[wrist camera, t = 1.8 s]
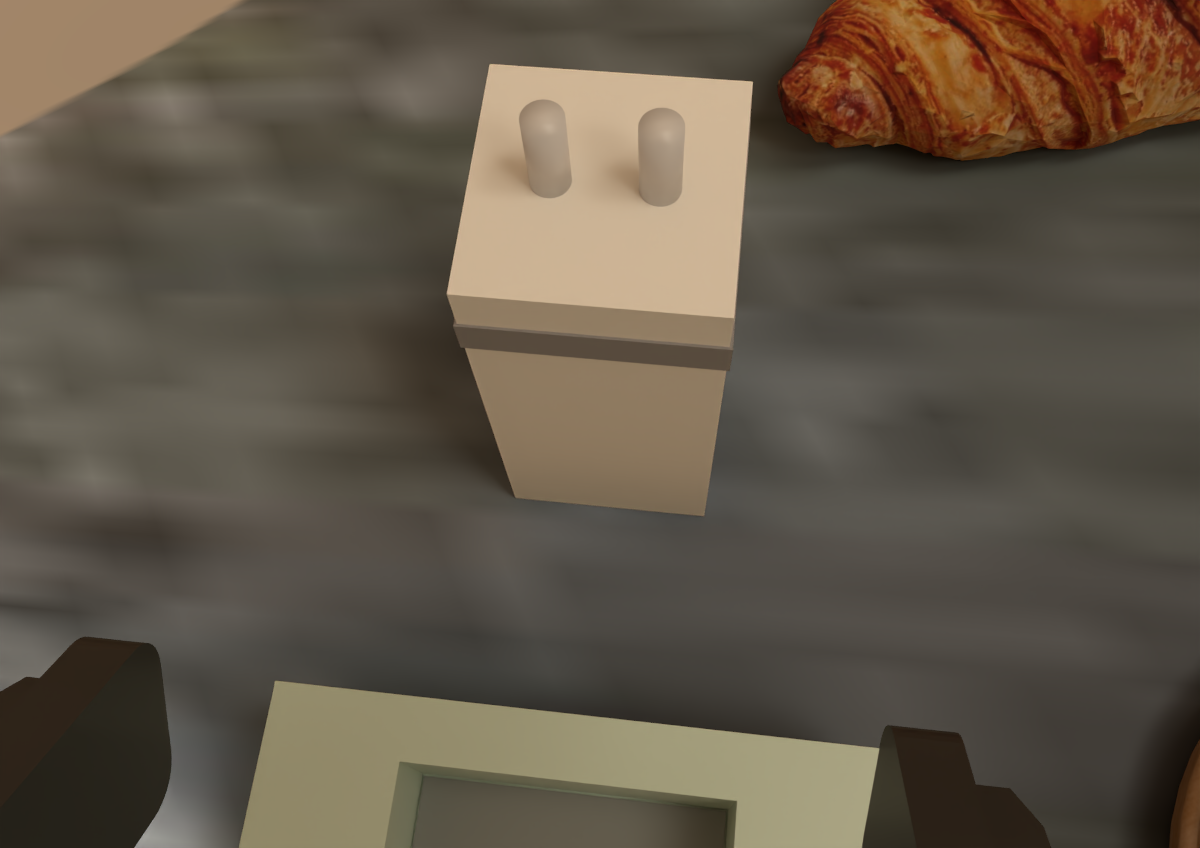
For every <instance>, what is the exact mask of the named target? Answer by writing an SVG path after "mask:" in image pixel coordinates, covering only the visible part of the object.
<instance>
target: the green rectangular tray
mask: <svg viewBox="0 0 1200 848" xmlns="http://www.w3.org/2000/svg"><path fill="white" fill-rule="evenodd" d="M878 754H879V748H871V747H862V746H853V745H844V744H835V743H826V742H817V741H808V740H799V739H790V738H782V737H773V736H764V735H755V734H746V733H737V732H728V731H719V730H710V729H701V728H692V727H683V726H675V725H666V724H657V723H648V722H639V721H630V720H621V719H612V718H603V717H594V716H585V715H576V714H568V713H559V712H550V711H541V710H532V709H523V708H514V707H505V706H496V705H487V704H478V703H469V702H461V701H452V700H443V699H434V698H425V697H416V696H407V695H398V694H389V693H380V692H371V691H362V690H354V689H345V688H336V687H327V686H318V685H309V684H300V683H291V682H282V681H275V685H274V690H273V694H272V699H271V703H270V708H269V712H268V717H267V721H266V726H265V731H264V735H263V740H262V744H261V749H260V753H259V758H258V762H257V767H256V772H255V776H254V781H253V785H252V790H251V794H250V799H249V803H248V808H247V813H246V817H245V822H244V826H243V831H242V835H241V840H240V844H239V848H862V843H863V836H864V830H865V825H866V819H867V814H868V808H869V803H870V797H871V792H872V787H873V781H874V776H875V770H876V765H877V759H878Z"/></svg>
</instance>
